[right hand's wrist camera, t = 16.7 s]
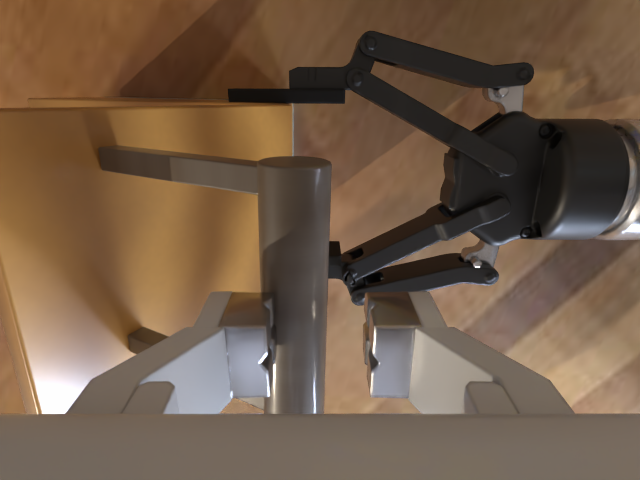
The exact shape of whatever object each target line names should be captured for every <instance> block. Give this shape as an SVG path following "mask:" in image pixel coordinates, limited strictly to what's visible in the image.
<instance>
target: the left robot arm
mask: <svg viewBox="0 0 640 480" xmlns="http://www.w3.org/2000/svg"><path fill="white" fill-rule="evenodd" d="M374 61H376V62H379V63H383V64H386V65H390V66H394V67H397V68H401V69H404V70H408V71H411V72H415V73H418V74H422V75H425V76H429V77H433V78H436V79H440V80H443V81H447V82H450V83H454V84H457V85H461V86H465V87H470V88H482V95H483V97H484V99H485V100H487V101H490V102H494V103H496V104H497V105H498V107H499V113H497V114H495V115H494V116H493V117H491V118H490V119H488V120H487V121H485V122H484V123H482V124H481V125H479V126H478V127H476V128H475V129H473V130H472V131H469V130H468V129H466V128H464V127H462V126H460V125H458V124H456V123H454V122H453V121H451V120H449V119H447V118H446V117H444V116H442V115H441V114H439V113H437V112H436V111H434V110H432V109H430V108H429V107H427V106H425V105H424V104H422V103H420V102H419V101H417V100H415V99H413V98H412V97H410V96H408V95H407V94H405V93H403V92H402V91H400V90H398V89H396V88H395V87H393V86H391V85H390V84H388V83H386V82H385V81H383V80H381V79H379V78H378V77H376V76H374V75H373V74H371V73H370V72H371V69H372V67H373V64H374ZM533 75H534V69H533V67H532V65H531V64H529V63H525V62H523V63H513V64H504V65H494V66H493V65H489V64H486V63H482V62H479V61H475V60H472V59H469V58H465V57H462V56H458V55H455V54H451V53H448V52H444V51H441V50H437V49H434V48H430V47H427V46H424V45H420V44H417V43H413V42H410V41H406V40H403V39H399V38H396V37H392V36H389V35H386V34H382V33H379V32H375V31H368V32H365V33H364V34H363V35H362V36H361V37H360V39H359V40H358V41H357V43H356V47H355V50H354V52H353V55H352V58H351V60H350V62H349V63H348V64H347V65H346V66H344V67H297V68H295V69H292V70H290V71H289V88H290V89H228V97H229V102H249V103H327V104H345V90H352V91H353V92H355V93H357V94H359V95H360V96H362V97H364V98H365V99H367V100H369V101H371V102H372V103H374V104H376V105H378V106H379V107H381V108H383V109H385V110H386V111H388V112H390V113H392V114H393V115H395V116H397V117H399V118H400V119H402V120H404V121H406V122H407V123H409V124H411V125H412V126H414V127H416V128H418V129H419V130H421V131H423V132H425V133H426V134H428V135H430V136H432V137H433V138H435V139H436V140H438V141H440V142H442V143H443V144H445V145H447V146H449V147H450V149H449V151H448V153H445V156H444V171H445V179H444V182H443V185H442V187H441V193H440V201H441V202H442V203H439V204H437V205H435V206H433V207H431V208H430V209H428V210H427V211H426V213H425V214H423V215H421V216H419V217H417V218H415V219H412V220H410V221H408V222H406V223H404V224H402V225H400V226H398V227H396V228H394V229H392V230H390V231H388V232H386V233H384V234H381V235H379V236H377V237H375V238H373V239H371V240H369V241H367V242H365V243H363V244H361V245H359V246H357V247H355V248H353V249H351V250H348V251H346V252H344V253H343V254H341V251H340V243H339V241H329V267H328V278H336V279H341V280H342V281H343V282H344V284H345V285H347V288H348V291H349V293H350V296H351V300H352V302H353V303H354V304H355V305H358V306H359V305H364V300H365V293H367V292H418V291H429V290H434V289H438V288H443V287H447V286H452V285H456V284H461V283H467V284H478V285H492V284H495V283H496V282H497V280H498V278H499V274H498V272H497V271H496V270H495V269H494V264H495V260H496V256H497V253H498V249H499V246H501V245H504V244H506V243H508V242H510V241H513V240H516V239H536V240H584V239H590V238H594V239H599V240H636V239H640V119H611V120H606V121H603V120H599V119H535V118H532V117H530V116H529V115H528V114H526V113H524V112H522V107H523V93H524V85H526V84H528V83H529V82H530V81H531V79H532V78H533ZM469 231H470V232H471V233H473V234H474V235H475V236H477V237H478V238H479V239H480V241H479V242H478V244H476V245H475V246H473V247H465V248H463V249H462V251H461V253H450V254H444V255H439V256H435V257H430V258H426V259H421V260H417V261H413V262H408V263H404V264H399V265H395V266H391V267H386V266H388V265H390V264H392V263H394V262H396V261H398V260H401V259H403V258H405V257H407V256H409V255H411V254H413V253H416V252H418V251H420V250H422V249H424V248H426V247H428V246H430V245H433V244H435V243H437V242H439V241H442V240H451V239H454V238H456V237H458V236H460V235H462V234H464V233H466V232H469ZM384 267H386V268H384ZM381 268H382V269H381Z"/></svg>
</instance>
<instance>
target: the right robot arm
mask: <svg viewBox="0 0 640 480" xmlns="http://www.w3.org/2000/svg"><path fill="white" fill-rule="evenodd" d="M275 312H276V305H275V293H274V292H232V291H220V292H211V293H210V294H209V296H208V298H207V300H206V302H205V304H204V306H203V308H202V310H201V312H200V314H199V315H198V317H197V319H196V321H195V323H194V325H193V327H186V328H184V329H182V330H180V331H178V332H177V333H175V334H173V335H171V336H169V337H168V338H166V339H164V340H162V341H160V342H159V343H157V344H155V345H153V346H151V347H149V348H148V349H146V350H144V351H142V352H140V353H139V354H137V355H135V356H133V357H131V358H129V359H128V360H126V361H124V362H122V363H120V364H119V365H117V366H115V367H113V368H111V369H110V370H108V371H106V372H104V373H102V374H100V375H99V376H97V377H95V378H93V379H91V380H90V382H89V383H88V384H87V386H86V387H85V388H84V390H83V391H82V392H81V393H80V395H79V396H78V397H77V399H76V400H75V401H74V403H73V404H72V405H71V407H70V408H69V409H68V410H67V412H66V413H65V414H0V480H640V414H575V413H574V411H573V410H572V409H571V408H570V406H569V405H568V404H567V402H566V401H565V400H564V398H563V397H562V396H561V394H560V393H559V392H558V390H557V389H556V388H555V386H554V385H553V384H552V382H551V381H550V380H548V379H547V378H545V377H543V376H541V375H539V374H538V373H536V372H534V371H532V370H530V369H529V368H527V367H525V366H523V365H521V364H519V363H518V362H516V361H514V360H512V359H510V358H509V357H507V356H505V355H503V354H501V353H500V352H498V351H496V350H494V349H492V348H491V347H489V346H487V345H485V344H483V343H482V342H480V341H478V340H476V339H474V338H472V337H471V336H469V335H467V334H465V333H463V332H462V331H460V330H458V329H456V328H454V327H447V325H446V323H445V321H444V319H443V317H442V315H441V314H440V312H439V310H438V308H437V306H436V304H435V302H434V300H433V298H432V296H431V294H430V293H429V292H427V291H418V292H367V293H365V300H364V312H365V317H366V322H365V323H364V325H363V352H364V361H365V364H366V365H367V380H368V386H369V392H370V397H382V398H409V401H410V402H411V403H412V404H413V405H414V406H415V407H416V408H417V409H418V410H419V411H420V412H421V413H422V414H219V413H220V412H221V411H222V409H223V408H224V407H225V406H226V405H227V404H228V403H229V402H230V401H231V398H257V397H270V393H271V387H272V381H273V365H274V364H275V361H276V353H277V328H276V326H275V324H274V318H275Z"/></svg>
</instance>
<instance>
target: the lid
mask: <svg viewBox="0 0 640 480" xmlns="http://www.w3.org/2000/svg"><path fill="white" fill-rule="evenodd" d="M331 171H332V164H331V162H330V161H328V160H325V159H321V158H315V157H304V156H292V105H290V104H250V105H181V106H113V107H44V108H0V318H1V322H2V325H3V329H4V333H5V337H6V340H7V344H8V348H9V351H10V355H11V359H12V363H13V366H14V370H15V374H16V377H17V381H18V385H19V388H20V392H21V396H22V400H23V403H24V407H25V411H26V414H65V413H66V412H67V410H68V409H69V408H70V407H71V405H72V404H73V403H74V401H75V400H76V399H77V397H78V396H79V395H80V393H81V392H82V391H83V390H84V388H85V387H86V386H87V384H88V383H89V382H90V380H91V379H93V378H95V377H97V376H99V375H100V374H102V373H104V372H106V371H108V370H110V369H111V368H113V367H115V366H117V365H119V364H120V363H122V362H124V361H126V360H128V359H129V358H131V357H133V356H135V355H137V354H139V353H140V352H142V351H144V350H146V349H148V348H149V347H151V346H153V345H155V344H157V343H159V342H160V341H162V340H164V339H166V338H168V337H169V336H171V335H173V334H175V333H177V332H178V331H180V330H182V329H184V328H186V327H193V325H194V323H195V321H196V319H197V317H198V315H199V314H200V312H201V310H202V308H203V306H204V304H205V302H206V300H207V298H208V296H209V294H210V293H211V292H220V291H232V292H274V293H275V305H276V312H275V318H274V324H275V326H276V328H277V353H276V361H275V364H274V365H273V381H272V387H271V393H270V397H257V398H237V399H239V400H242V401H244V402H246V403H248V404H251V405H253V406H255V407H258V408H260V409H262V410H264V414H324V396H325V364H326V331H327V299H328V267H329V235H330V203H331Z"/></svg>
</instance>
